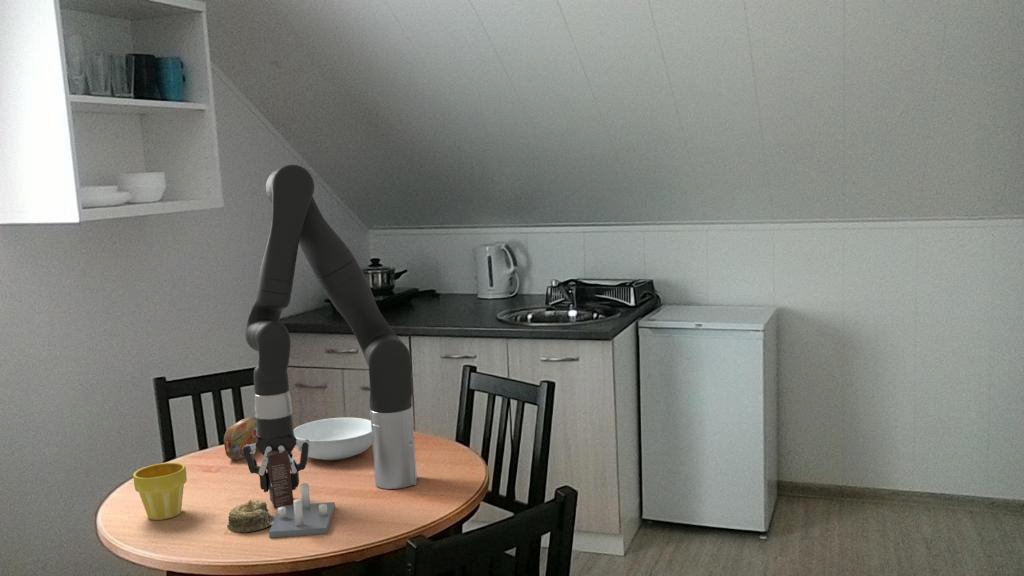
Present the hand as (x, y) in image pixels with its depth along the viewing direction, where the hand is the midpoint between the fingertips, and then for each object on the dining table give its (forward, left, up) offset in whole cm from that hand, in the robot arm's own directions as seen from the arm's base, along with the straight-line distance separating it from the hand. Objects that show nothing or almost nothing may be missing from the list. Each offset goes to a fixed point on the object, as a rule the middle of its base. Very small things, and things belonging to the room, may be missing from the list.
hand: (280, 489), depth 199 cm
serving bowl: (-8, -32, -3) cm, 33 cm away
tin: (+16, -38, -3) cm, 41 cm away
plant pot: (+24, +2, -3) cm, 24 cm away
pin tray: (-7, +12, -3) cm, 14 cm away
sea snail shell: (+4, +11, -3) cm, 12 cm away
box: (0, 0, -3) cm, 3 cm away
